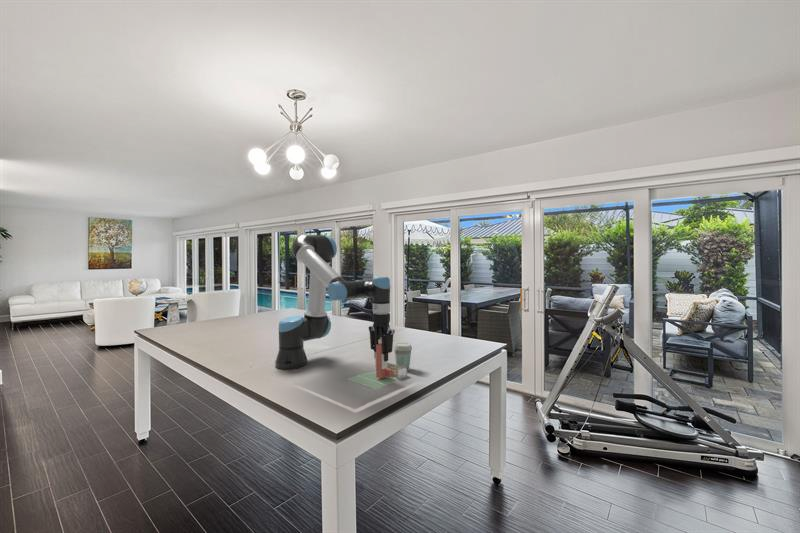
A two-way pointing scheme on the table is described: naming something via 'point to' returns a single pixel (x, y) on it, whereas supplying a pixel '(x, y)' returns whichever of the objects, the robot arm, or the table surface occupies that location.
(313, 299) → the robot arm
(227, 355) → the table surface
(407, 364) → the coffee cup
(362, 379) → the pitch
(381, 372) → the red inhaler
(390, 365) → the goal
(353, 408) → the table surface
